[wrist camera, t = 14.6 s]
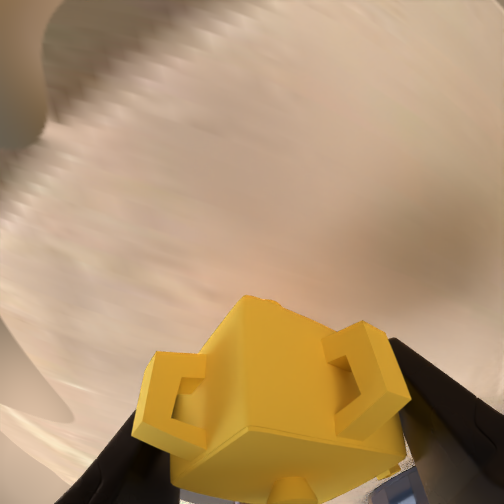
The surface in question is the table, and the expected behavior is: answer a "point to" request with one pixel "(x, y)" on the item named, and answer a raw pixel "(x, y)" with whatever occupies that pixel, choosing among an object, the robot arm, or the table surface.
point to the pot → (400, 490)
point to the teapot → (276, 408)
